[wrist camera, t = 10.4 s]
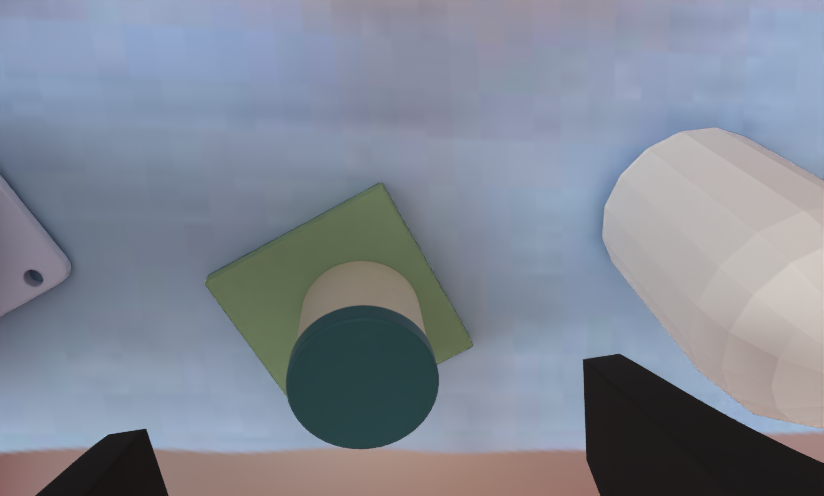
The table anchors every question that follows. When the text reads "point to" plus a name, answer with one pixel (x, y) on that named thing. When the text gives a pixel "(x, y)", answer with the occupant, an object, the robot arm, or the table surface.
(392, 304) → the lidded jar
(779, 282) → the white domed cylinder
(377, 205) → the mat
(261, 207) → the table surface
